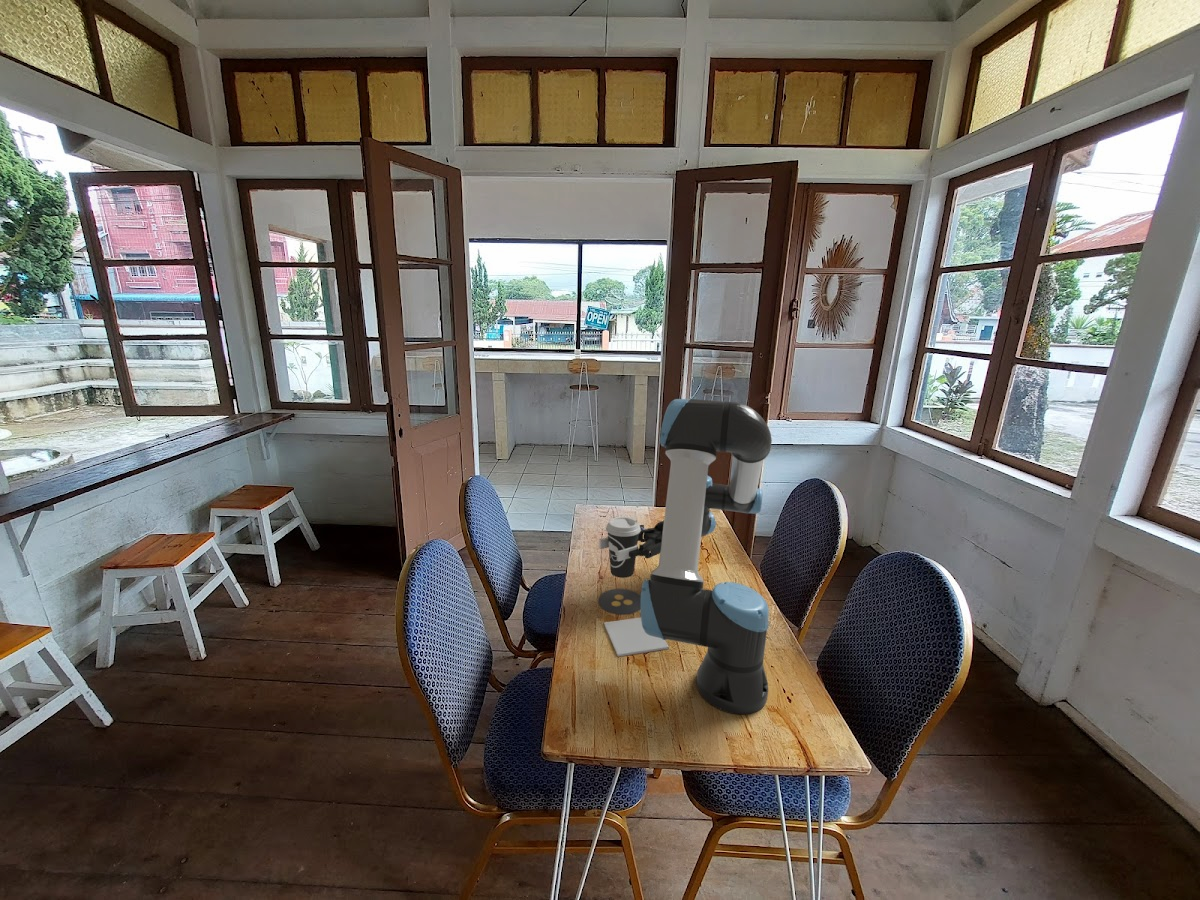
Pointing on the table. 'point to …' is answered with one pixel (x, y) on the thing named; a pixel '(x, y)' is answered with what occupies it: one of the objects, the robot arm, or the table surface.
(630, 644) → the plate
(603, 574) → the table surface
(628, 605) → the coaster
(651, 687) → the table surface
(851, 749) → the table surface
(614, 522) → the coffee cup
